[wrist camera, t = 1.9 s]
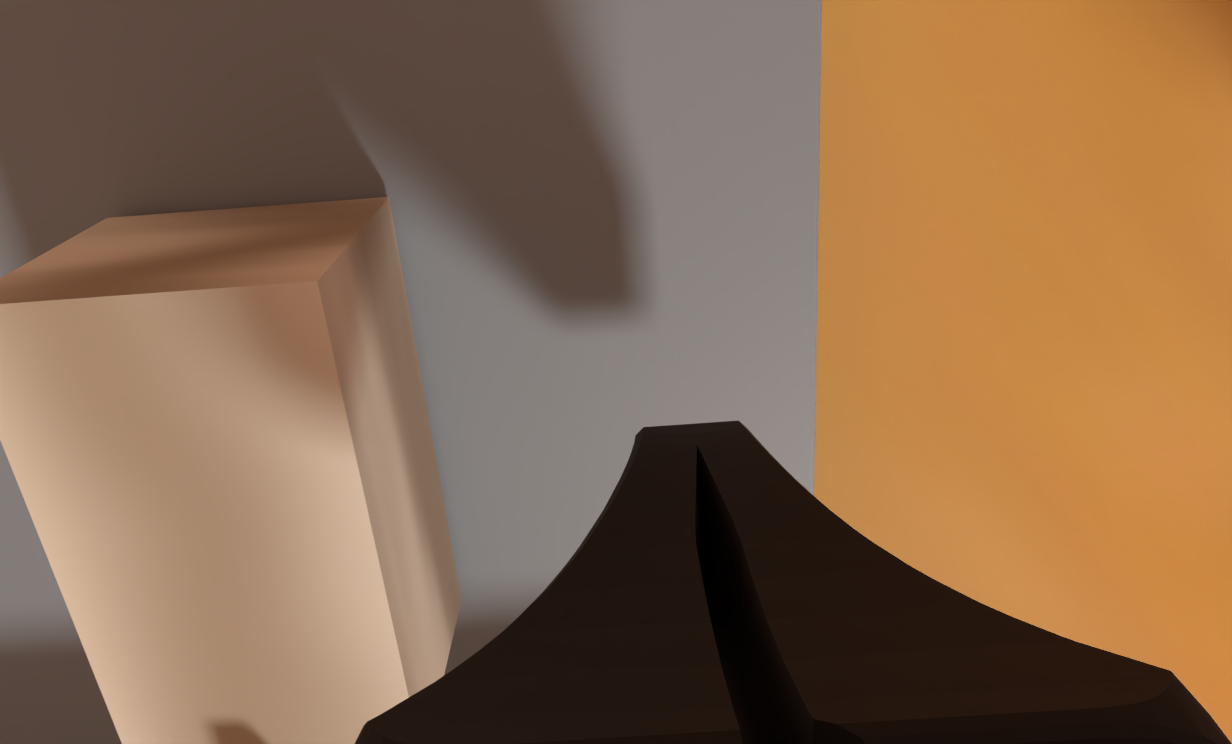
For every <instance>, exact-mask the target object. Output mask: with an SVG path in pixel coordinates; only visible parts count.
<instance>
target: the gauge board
mask: <svg viewBox="0 0 1232 744" xmlns="http://www.w3.org/2000/svg"><path fill="white" fill-rule="evenodd" d="M821 13H822V0H0V278H1V277H3V276H5V275H7V274H8V273H10V272H12V271H14V270H15V269H17V268H19V267H21V266H22V265H24V264H26V263H28V262H30V261H31V260H33V259H35V258H37V257H38V256H40V255H42V254H44V253H46V252H47V251H49V250H51V249H53V248H54V247H56V246H58V245H60V244H62V243H63V242H65V241H67V240H69V239H70V238H72V237H74V236H76V235H77V234H79V233H81V232H83V231H85V230H86V229H88V228H90V227H92V226H93V225H95V224H97V223H99V222H101V221H102V220H104V219H106V218H111V217H125V216H138V215H152V214H165V213H178V212H192V211H205V210H219V209H232V208H246V207H259V206H272V205H286V204H299V203H313V202H326V201H339V200H353V199H366V198H380V197H389V199H390V205H391V210H392V216H393V222H394V227H395V233H396V238H397V244H398V250H399V255H400V261H401V266H402V272H403V277H404V283H405V289H406V294H407V300H408V305H409V311H410V317H411V322H412V328H413V333H414V339H415V344H416V350H417V356H418V361H419V367H420V372H421V378H422V383H423V389H424V395H425V400H426V406H427V411H428V417H429V423H430V428H431V434H432V439H433V445H434V450H435V456H436V462H437V467H438V473H439V478H440V484H441V490H442V495H443V501H444V506H445V512H446V517H447V523H448V529H449V534H450V540H451V545H452V551H453V556H454V562H455V568H456V573H457V579H458V584H459V590H460V596H461V604H460V608H459V613H458V617H457V621H456V626H455V630H454V634H453V639H452V643H451V647H450V652H449V656H448V661H447V665H446V669H445V674H444V675H446V674H447V673H449V672H450V671H452V670H453V669H454V668H456V667H457V666H459V665H460V664H461V663H463V662H464V661H465V660H467V659H468V658H470V657H471V656H472V655H474V654H475V653H476V652H478V651H479V650H480V649H481V648H483V647H484V646H485V645H486V644H488V643H489V642H490V641H491V640H493V639H494V638H495V637H496V636H498V635H499V634H500V633H501V632H503V631H504V630H505V629H506V628H507V627H508V626H509V625H510V624H511V623H512V622H513V621H515V620H516V619H517V618H518V617H519V616H520V615H521V614H522V613H523V612H524V611H525V610H526V608H527V607H528V606H529V605H530V604H531V603H532V602H533V601H534V600H535V599H536V598H537V597H538V596H539V595H540V594H541V593H542V592H543V591H544V590H545V589H546V588H547V586H548V585H549V584H550V583H551V582H552V581H553V579H554V578H555V577H556V576H557V575H558V574H559V572H560V571H561V570H562V569H563V567H564V566H565V565H566V564H567V562H568V561H569V560H570V558H571V557H572V556H573V555H574V553H575V552H576V551H577V549H578V548H579V546H580V545H581V543H582V542H583V540H584V539H585V537H586V536H587V534H588V533H589V531H590V530H591V528H592V527H593V525H594V524H595V522H596V521H597V519H598V518H599V516H600V514H601V513H602V511H603V509H604V508H605V506H606V504H607V502H608V500H609V499H610V497H611V495H612V493H613V491H614V489H615V487H616V485H617V483H618V482H619V480H620V478H621V476H622V473H623V471H624V469H625V467H626V464H627V462H628V460H629V457H630V454H631V452H632V448H633V445H634V441H635V435H636V434H637V433H638V432H639V431H640V430H641V429H642V428H643V427H652V426H667V425H681V424H696V423H710V422H724V421H740V422H741V423H742V424H743V425H744V426H745V427H746V428H748V430H749V431H750V432H751V433H752V434H753V435H754V436H755V438H756V439H757V440H758V441H759V442H760V443H761V444H762V445H763V446H764V447H765V449H766V450H767V451H768V452H769V453H770V454H771V455H772V456H773V457H774V458H775V459H776V460H777V461H778V462H779V463H780V464H781V465H782V466H783V467H784V468H785V469H786V470H787V471H788V472H789V473H790V474H791V475H792V476H793V477H794V478H795V479H796V480H797V481H798V482H799V483H800V484H801V485H802V486H803V487H805V488H806V489H807V490H808V491H809V492H810V493H811V494H812V495H813V496H814V448H815V386H816V324H817V262H818V200H819V138H820V76H821ZM0 744H122V743H121V740H120V738H119V735H118V733H117V730H116V728H115V725H114V723H113V720H112V718H111V715H110V713H109V710H108V708H107V705H106V703H105V700H104V698H103V695H102V693H101V690H100V688H99V685H98V683H97V680H96V678H95V675H94V673H93V670H92V668H91V665H90V663H89V660H88V658H87V655H86V653H85V650H84V648H83V645H82V643H81V640H80V638H79V635H78V633H77V630H76V628H75V625H74V623H73V620H72V618H71V615H70V613H69V610H68V608H67V605H66V603H65V600H64V598H63V595H62V593H61V590H60V588H59V585H58V583H57V580H56V578H55V575H54V573H53V570H52V568H51V565H50V563H49V560H48V558H47V555H46V553H45V550H44V548H43V545H42V543H41V540H40V538H39V535H38V533H37V530H36V528H35V525H34V523H33V520H32V518H31V515H30V513H29V510H28V508H27V505H26V503H25V500H24V498H23V495H22V493H21V490H20V488H19V485H18V483H17V480H16V478H15V475H14V473H13V470H12V468H11V465H10V463H9V460H8V458H7V455H6V453H5V451H4V448H3V446H2V443H1V441H0Z"/></svg>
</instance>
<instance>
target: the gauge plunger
mask: <svg viewBox="0 0 1232 744" xmlns="http://www.w3.org/2000/svg"><path fill="white" fill-rule="evenodd" d="M0 441H1V443H2V446H3V448H4V451H5V453H6V455H7V458H8V460H9V463H10V465H11V468H12V470H13V473H14V475H15V478H16V480H17V483H18V485H19V488H20V490H21V493H22V495H23V498H24V500H25V503H26V505H27V508H28V510H29V513H30V515H31V518H32V520H33V523H34V525H35V528H36V530H37V533H38V535H39V538H40V540H41V543H42V545H43V548H44V550H45V553H46V555H47V558H48V560H49V563H50V565H51V568H52V570H53V573H54V575H55V578H56V580H57V583H58V585H59V588H60V590H61V593H62V595H63V598H64V600H65V603H66V605H67V608H68V610H69V613H70V615H71V618H72V620H73V623H74V625H75V628H76V630H77V633H78V635H79V638H80V640H81V643H82V645H83V648H84V650H85V653H86V655H87V658H88V660H89V663H90V665H91V668H92V670H93V673H94V675H95V678H96V680H97V683H98V685H99V688H100V690H101V693H102V695H103V698H104V700H105V703H106V705H107V708H108V710H109V713H110V715H111V718H112V720H113V723H114V725H115V728H116V730H117V733H118V735H119V738H120V740H121V743H122V744H355V742H356V740H357V738H358V736H359V734H360V732H361V730H362V728H363V726H364V725H365V723H366V722H367V721H369V720H371V719H373V718H375V717H377V716H379V715H380V714H382V713H384V712H386V711H387V710H389V709H391V708H392V707H394V706H396V705H397V704H399V703H401V702H402V701H404V700H406V699H407V698H409V697H410V696H412V695H414V694H415V693H417V692H419V691H420V690H422V689H424V688H425V687H427V686H429V685H430V684H432V683H434V682H435V681H437V680H438V679H440V678H441V677H443V676H444V674H445V669H446V665H447V661H448V656H449V652H450V647H451V643H452V639H453V634H454V630H455V626H456V621H457V617H458V613H459V608H460V604H461V596H460V590H459V584H458V579H457V573H456V568H455V562H454V556H453V551H452V545H451V540H450V534H449V529H448V523H447V517H446V512H445V506H444V501H443V495H442V490H441V484H440V478H439V473H438V467H437V462H436V456H435V450H434V445H433V439H432V434H431V428H430V423H429V417H428V411H427V406H426V400H425V395H424V389H423V383H422V378H421V372H420V367H419V361H418V356H417V350H416V344H415V339H414V333H413V328H412V322H411V317H410V311H409V305H408V300H407V294H406V289H405V283H404V277H403V272H402V266H401V261H400V255H399V250H398V244H397V238H396V233H395V227H394V222H393V216H392V210H391V205H390V199H389V197H380V198H366V199H353V200H339V201H326V202H313V203H299V204H286V205H272V206H259V207H246V208H232V209H219V210H205V211H192V212H178V213H165V214H152V215H138V216H125V217H111V218H106V219H104V220H102V221H101V222H99V223H97V224H95V225H93V226H92V227H90V228H88V229H86V230H85V231H83V232H81V233H79V234H77V235H76V236H74V237H72V238H70V239H69V240H67V241H65V242H63V243H62V244H60V245H58V246H56V247H54V248H53V249H51V250H49V251H47V252H46V253H44V254H42V255H40V256H38V257H37V258H35V259H33V260H31V261H30V262H28V263H26V264H24V265H22V266H21V267H19V268H17V269H15V270H14V271H12V272H10V273H8V274H7V275H5V276H3V277H1V278H0Z"/></svg>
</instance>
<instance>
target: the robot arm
mask: <svg viewBox="0 0 1232 744" xmlns="http://www.w3.org/2000/svg"><path fill="white" fill-rule="evenodd" d="M355 744H1231V742H1230V741H1229V740H1228V738H1227V737H1226V736H1225V734H1224V733H1223V732H1222V730H1221V729H1220V728H1219V727H1218V725H1217V724H1216V723H1215V721H1214V720H1213V719H1212V717H1211V716H1210V715H1209V714H1208V712H1207V711H1206V710H1205V709H1204V708H1203V707H1202V706H1201V705H1200V703H1199V702H1198V701H1197V700H1196V699H1195V698H1194V697H1193V695H1192V694H1191V693H1190V692H1189V691H1188V690H1187V689H1186V688H1185V686H1184V685H1183V684H1182V683H1181V682H1180V681H1179V680H1178V679H1177V678H1176V676H1175V675H1174V674H1173V673H1172V672H1171V671H1169V670H1166V669H1162V668H1159V667H1156V666H1153V665H1149V664H1146V663H1143V662H1140V661H1137V660H1133V659H1130V658H1127V657H1124V656H1120V655H1117V654H1114V653H1111V652H1108V651H1104V650H1101V649H1098V648H1095V647H1091V646H1088V645H1085V644H1082V643H1079V642H1075V641H1073V640H1070V639H1067V638H1064V637H1061V636H1059V635H1056V634H1054V633H1051V632H1049V631H1046V630H1044V629H1041V628H1039V627H1036V626H1033V625H1031V624H1028V623H1026V622H1023V621H1021V620H1018V619H1016V618H1013V617H1011V616H1009V615H1006V614H1004V613H1002V612H999V611H997V610H995V609H993V608H990V607H988V606H986V605H984V604H981V603H979V602H977V601H975V600H973V599H971V598H969V597H967V596H965V595H963V594H961V593H959V592H957V591H955V590H953V589H951V588H950V587H948V586H946V585H944V584H942V583H940V582H938V581H936V580H934V579H932V578H930V577H928V576H927V575H925V574H923V573H921V572H920V571H918V570H916V569H914V568H912V567H911V566H909V565H907V564H906V563H904V562H903V561H901V560H900V559H898V558H896V557H895V556H893V555H892V554H890V553H889V552H887V551H885V550H884V549H882V548H881V547H879V546H878V545H876V544H875V543H873V542H871V541H870V540H869V539H867V538H866V537H864V536H863V535H862V534H860V533H859V532H857V531H856V530H855V529H853V528H852V527H851V526H849V525H848V524H847V523H846V522H844V521H843V520H842V519H840V518H839V517H838V516H837V515H835V514H834V513H833V512H832V511H830V510H829V509H828V508H827V507H826V506H824V505H823V504H822V503H821V502H820V501H819V500H818V499H816V498H815V497H814V496H813V495H812V494H811V493H810V492H809V491H808V490H807V489H806V488H805V487H803V486H802V485H801V484H800V483H799V482H798V481H797V480H796V479H795V478H794V477H793V476H792V475H791V474H790V473H789V472H788V471H787V470H786V469H785V468H784V467H783V466H782V465H781V464H780V463H779V462H778V461H777V460H776V459H775V458H774V457H773V456H772V455H771V454H770V453H769V452H768V451H767V450H766V449H765V447H764V446H763V445H762V444H761V443H760V442H759V441H758V440H757V439H756V438H755V436H754V435H753V434H752V433H751V432H750V431H749V430H748V428H746V427H745V426H744V425H743V424H742V423H741V422H740V421H724V422H710V423H696V424H681V425H667V426H652V427H643V428H642V429H641V430H640V431H639V432H638V433H637V434H636V435H635V441H634V445H633V448H632V452H631V454H630V457H629V460H628V462H627V464H626V467H625V469H624V471H623V473H622V476H621V478H620V480H619V482H618V483H617V485H616V487H615V489H614V491H613V493H612V495H611V497H610V499H609V500H608V502H607V504H606V506H605V508H604V509H603V511H602V513H601V514H600V516H599V518H598V519H597V521H596V522H595V524H594V525H593V527H592V528H591V530H590V531H589V533H588V534H587V536H586V537H585V539H584V540H583V542H582V543H581V545H580V546H579V548H578V549H577V551H576V552H575V553H574V555H573V556H572V557H571V558H570V560H569V561H568V562H567V564H566V565H565V566H564V567H563V569H562V570H561V571H560V572H559V574H558V575H557V576H556V577H555V578H554V579H553V581H552V582H551V583H550V584H549V585H548V586H547V588H546V589H545V590H544V591H543V592H542V593H541V594H540V595H539V596H538V597H537V598H536V599H535V600H534V601H533V602H532V603H531V604H530V605H529V606H528V607H527V608H526V610H525V611H524V612H523V613H522V614H521V615H520V616H519V617H518V618H517V619H516V620H515V621H513V622H512V623H511V624H510V625H509V626H508V627H507V628H506V629H505V630H504V631H503V632H501V633H500V634H499V635H498V636H496V637H495V638H494V639H493V640H491V641H490V642H489V643H488V644H486V645H485V646H484V647H483V648H481V649H480V650H479V651H478V652H476V653H475V654H474V655H472V656H471V657H470V658H468V659H467V660H465V661H464V662H463V663H461V664H460V665H459V666H457V667H456V668H454V669H453V670H452V671H450V672H449V673H447V674H446V675H444V676H443V677H441V678H440V679H438V680H437V681H435V682H434V683H432V684H430V685H429V686H427V687H425V688H424V689H422V690H420V691H419V692H417V693H415V694H414V695H412V696H410V697H409V698H407V699H406V700H404V701H402V702H401V703H399V704H397V705H396V706H394V707H392V708H391V709H389V710H387V711H386V712H384V713H382V714H380V715H379V716H377V717H375V718H373V719H371V720H369V721H367V722H366V723H365V725H364V726H363V728H362V730H361V732H360V734H359V736H358V738H357V740H356V742H355Z"/></svg>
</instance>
